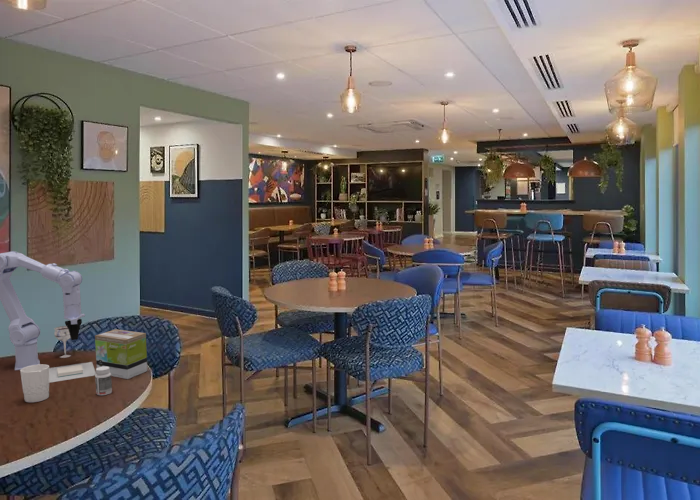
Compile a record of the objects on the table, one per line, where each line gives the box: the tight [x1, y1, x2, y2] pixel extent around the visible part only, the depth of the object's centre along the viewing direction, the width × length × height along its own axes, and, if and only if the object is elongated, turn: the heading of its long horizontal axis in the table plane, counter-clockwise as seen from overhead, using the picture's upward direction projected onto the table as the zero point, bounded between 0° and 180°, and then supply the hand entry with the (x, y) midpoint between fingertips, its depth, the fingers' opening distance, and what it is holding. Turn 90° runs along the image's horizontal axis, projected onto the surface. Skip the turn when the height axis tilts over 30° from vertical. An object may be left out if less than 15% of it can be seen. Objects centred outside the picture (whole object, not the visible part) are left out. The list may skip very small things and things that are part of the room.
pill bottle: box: [94, 366, 113, 396], centre depth 173 cm, size 5×5×8 cm
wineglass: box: [53, 325, 72, 359], centre depth 213 cm, size 7×7×12 cm
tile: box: [57, 365, 83, 377], centre depth 193 cm, size 1×8×7 cm
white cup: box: [19, 363, 50, 403], centre depth 169 cm, size 8×8×10 cm
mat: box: [49, 361, 96, 384], centre depth 194 cm, size 18×16×1 cm
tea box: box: [94, 328, 148, 380], centre depth 193 cm, size 15×10×15 cm, turn 68°
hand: (74, 339), depth 200 cm, fingers closed
